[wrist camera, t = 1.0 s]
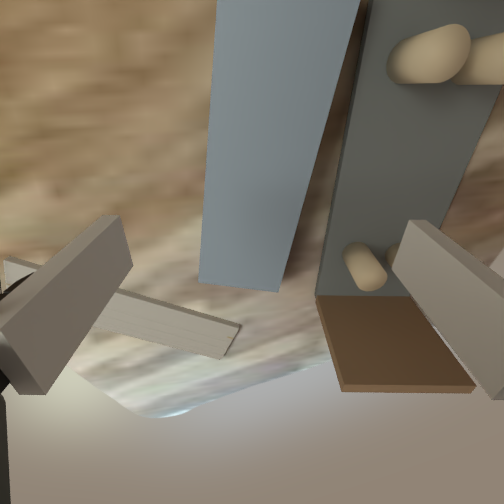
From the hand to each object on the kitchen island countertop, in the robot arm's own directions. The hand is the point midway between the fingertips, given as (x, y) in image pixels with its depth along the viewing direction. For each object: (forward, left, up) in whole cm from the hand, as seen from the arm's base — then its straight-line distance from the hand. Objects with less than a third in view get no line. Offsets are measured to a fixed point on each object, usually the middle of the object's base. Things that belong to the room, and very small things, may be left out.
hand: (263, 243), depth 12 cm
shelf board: (0, 0, -17) cm, 17 cm away
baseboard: (+22, -18, -17) cm, 33 cm away
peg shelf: (+1, +14, -16) cm, 21 cm away
